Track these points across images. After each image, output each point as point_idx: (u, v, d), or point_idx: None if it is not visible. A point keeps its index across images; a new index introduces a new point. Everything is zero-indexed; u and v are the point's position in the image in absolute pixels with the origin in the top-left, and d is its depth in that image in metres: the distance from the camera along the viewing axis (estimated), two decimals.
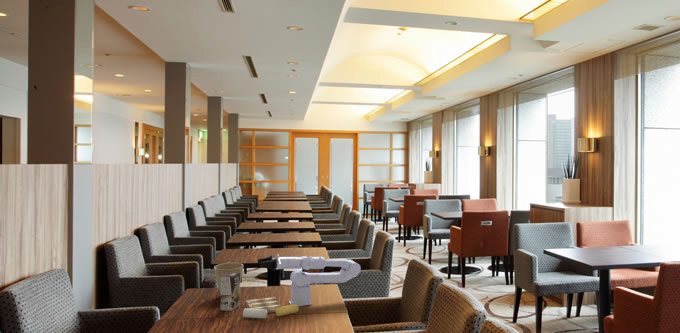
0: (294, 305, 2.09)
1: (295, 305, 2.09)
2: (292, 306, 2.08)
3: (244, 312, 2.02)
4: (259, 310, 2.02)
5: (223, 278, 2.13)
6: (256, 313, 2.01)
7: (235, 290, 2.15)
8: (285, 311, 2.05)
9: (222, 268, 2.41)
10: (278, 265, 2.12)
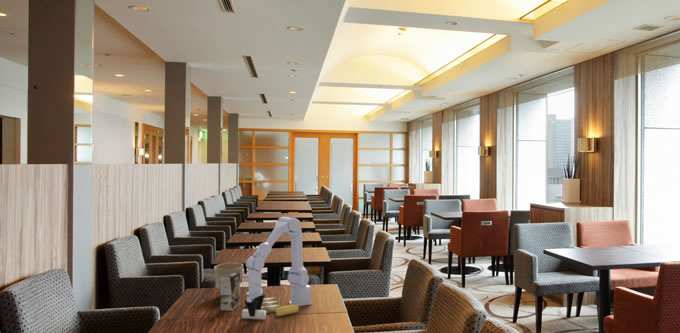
0: (294, 305, 2.09)
1: (295, 305, 2.09)
2: (292, 306, 2.08)
3: (243, 317, 2.01)
4: (257, 315, 2.00)
5: (223, 278, 2.13)
6: (255, 318, 2.00)
7: (235, 290, 2.15)
8: (285, 311, 2.05)
9: (222, 268, 2.41)
10: (248, 301, 1.96)
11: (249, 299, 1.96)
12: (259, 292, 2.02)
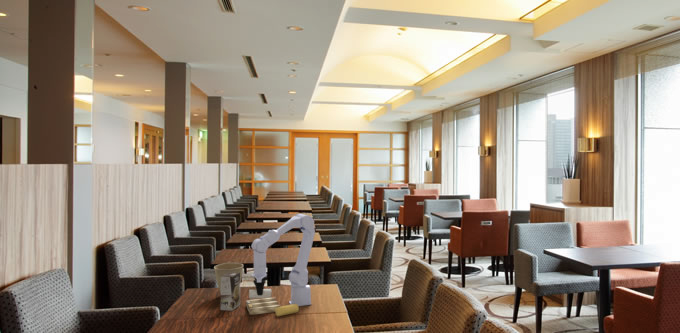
0: (294, 305, 2.09)
1: (295, 305, 2.09)
2: (292, 306, 2.08)
3: (250, 293, 2.09)
4: (265, 290, 2.11)
5: (223, 278, 2.13)
6: None
7: (235, 290, 2.15)
8: (285, 311, 2.05)
9: (222, 268, 2.41)
10: (258, 281, 2.04)
11: (259, 279, 2.04)
12: (265, 273, 2.11)
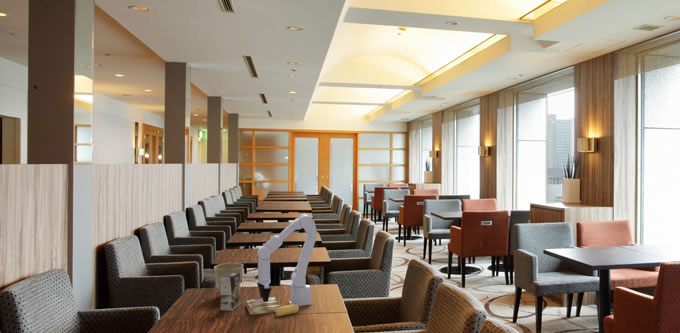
0: (294, 305, 2.09)
1: (295, 305, 2.09)
2: (292, 306, 2.08)
3: None
4: (269, 299, 2.19)
5: (223, 278, 2.13)
6: None
7: (235, 290, 2.15)
8: (285, 311, 2.05)
9: (222, 268, 2.41)
10: (266, 287, 2.12)
11: (267, 285, 2.12)
12: (269, 279, 2.19)
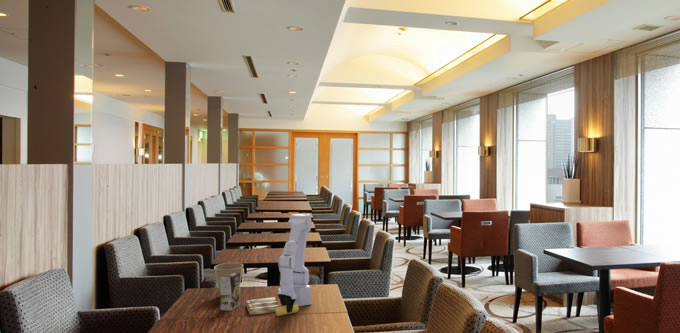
0: (294, 305, 2.09)
1: (295, 304, 2.09)
2: None
3: None
4: (269, 299, 2.19)
5: (223, 278, 2.13)
6: None
7: (235, 290, 2.15)
8: (285, 310, 2.05)
9: (222, 268, 2.41)
10: (293, 297, 2.02)
11: (295, 296, 2.02)
12: (293, 289, 2.08)
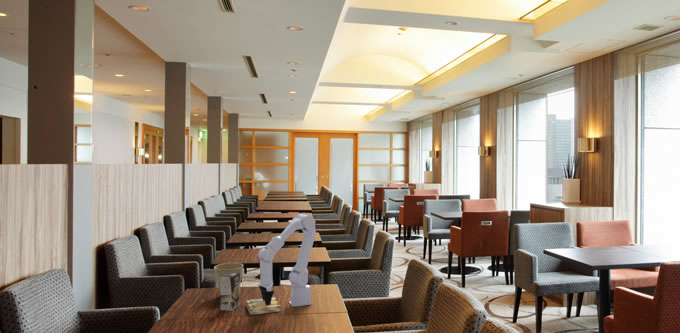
0: (273, 302, 2.13)
1: (274, 302, 2.13)
2: (271, 303, 2.12)
3: None
4: None
5: (223, 278, 2.13)
6: None
7: (235, 290, 2.15)
8: None
9: (222, 268, 2.41)
10: (268, 290, 2.06)
11: (269, 288, 2.06)
12: None
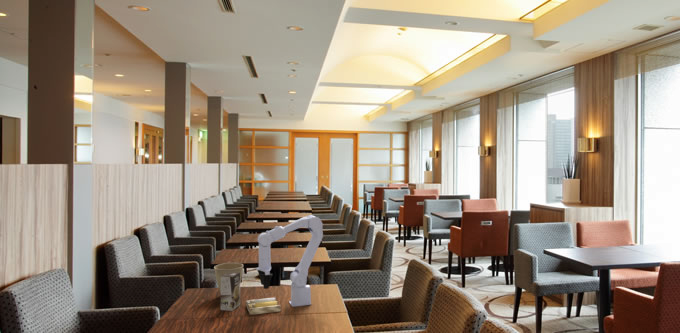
0: (273, 302, 2.14)
1: (274, 301, 2.14)
2: (271, 302, 2.13)
3: None
4: (270, 299, 2.18)
5: (223, 278, 2.13)
6: None
7: (235, 290, 2.15)
8: (263, 306, 2.11)
9: (222, 268, 2.41)
10: (266, 273, 2.10)
11: (268, 272, 2.10)
12: (270, 266, 2.17)
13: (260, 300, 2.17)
